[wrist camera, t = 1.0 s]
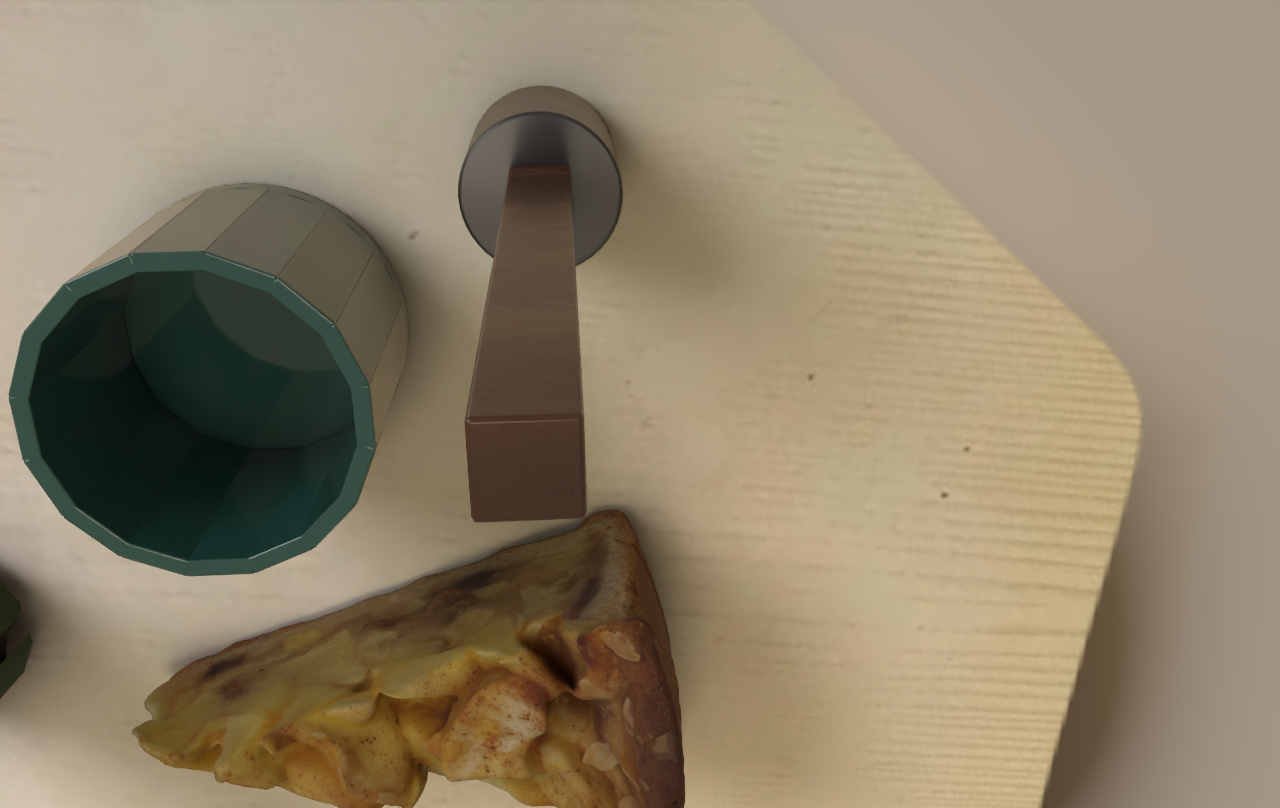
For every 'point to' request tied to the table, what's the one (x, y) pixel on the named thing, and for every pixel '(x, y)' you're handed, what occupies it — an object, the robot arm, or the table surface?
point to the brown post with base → (533, 297)
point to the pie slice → (452, 687)
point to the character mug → (5, 671)
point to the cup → (214, 381)
